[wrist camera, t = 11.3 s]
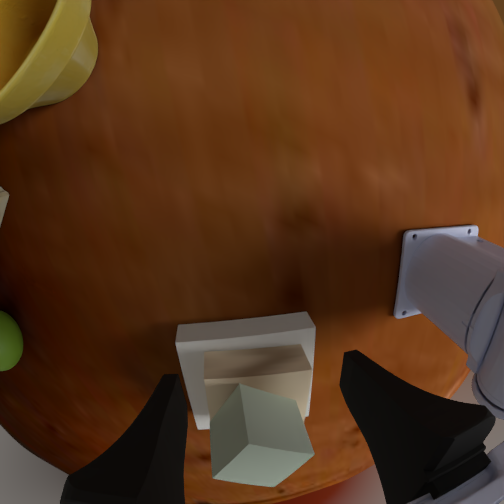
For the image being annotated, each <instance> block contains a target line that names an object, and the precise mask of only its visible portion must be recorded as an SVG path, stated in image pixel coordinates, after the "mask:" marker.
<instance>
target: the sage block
mask: <svg viewBox="0 0 504 504" xmlns="http://www.w3.org/2000/svg"><path fill="white" fill-rule="evenodd" d="M210 443H211V462H212V478H214V479H219V480H224V481H230V482H237V483H243V484H251V485H259V486H268V487H275V486H276V485H277V484H279V483H280V482H281V481H283V480H284V479H285V478H286V477H288V476H289V475H290V474H292V473H293V472H294V471H295V470H297V469H298V468H299V467H300V466H302V465H303V464H304V463H305V462H306V461H308V460H309V459H310V458H311V457H312V456H313V455H315V454H314V451H313V448H312V445H311V443H310V440H309V437H308V434H307V431H306V428H305V425H304V423H303V420H302V417H301V414H300V411H299V408H298V405H297V402H296V400H293V399H290V398H286V397H282V396H279V395H275V394H272V393H269V392H265V391H262V390H259V389H255V388H252V387H249V386H246V385H243V384H240V383H239V385H238V386H237V387H236V389H235V390H234V391H233V393H232V394H231V395H230V397H229V398H228V399H227V400H226V402H225V403H224V404H223V406H222V407H221V408H220V409H219V411H218V412H217V413H216V415H215V416H214V417H213V418H212V420H211V421H210Z"/></svg>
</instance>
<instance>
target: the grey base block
mask: <svg viewBox="0 0 504 504" xmlns="http://www.w3.org/2000/svg"><path fill="white" fill-rule="evenodd" d="M315 331H316V327H315V325H314V323H313V322H312V320H311V318H310V316H309V315H308V313H307V311H305V312H298V313H290V314H283V315H274V316H266V317H257V318H248V319H238V320H228V321H218V322H206V323H194V324H181V325H178V329H177V335H176V341H175V344H176V348H177V352H178V357H179V361H180V365H181V369H182V373H183V377H184V381H185V385H186V389H187V392H188V396H189V400H190V403H191V407H192V411H193V414H194V418H195V421H196V424H197V428H198V430H199V429H210V416H209V410H208V403H207V396H206V390H205V383H204V352H208V351H227V350H242V349H255V348H267V347H278V346H287V345H297V344H301V345H302V348H303V350H304V352H305V354H306V357H307V359H308V361H309V363H310V365H311V368H312V374H313V361H314V347H315ZM311 386H312V375H311V382H310V389H309V395H308V402H307V408H306V414H305V417H306V416H309V407H310V397H311Z"/></svg>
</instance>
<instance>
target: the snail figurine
mask: <svg viewBox="0 0 504 504" xmlns="http://www.w3.org/2000/svg"><path fill="white" fill-rule="evenodd" d="M22 351H23V337H22V333H21V330H20V328H19V326H18V324H17V323H16V321H15V320H14V319H13V318H12V317H11V316H10V315H8V314H7V313H5V312H3V311H1V310H0V371H5V370H8V369H11V368H12V367H14V366H15V365H16V364H17V362H18V361H19V359H20V357H21V355H22Z"/></svg>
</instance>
